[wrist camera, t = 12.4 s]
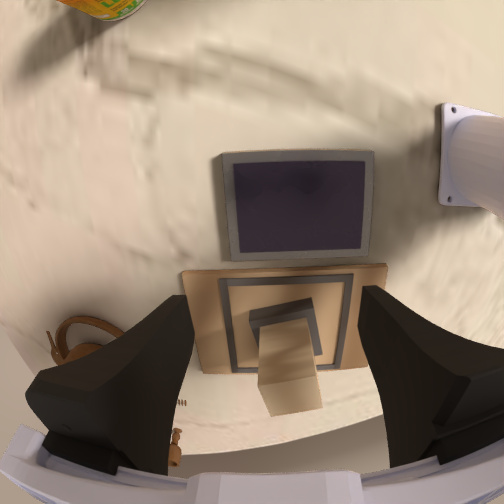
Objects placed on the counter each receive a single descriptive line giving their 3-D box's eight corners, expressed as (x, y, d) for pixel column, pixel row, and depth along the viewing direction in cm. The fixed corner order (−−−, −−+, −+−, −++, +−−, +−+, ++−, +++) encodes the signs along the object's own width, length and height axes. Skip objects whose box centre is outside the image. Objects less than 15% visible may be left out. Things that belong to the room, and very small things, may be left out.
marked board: (385, 263, 22) (389, 267, 21) (365, 362, 27) (367, 368, 26) (183, 270, 23) (180, 275, 22) (204, 369, 28) (202, 374, 27)
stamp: (311, 296, 23) (326, 365, 16) (320, 342, 25) (333, 410, 18) (249, 310, 24) (243, 380, 17) (264, 353, 26) (263, 422, 19)
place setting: (176, 323, 26) (158, 369, 21) (193, 434, 34) (186, 469, 29) (34, 299, 27) (5, 329, 21) (83, 408, 35) (68, 437, 29)
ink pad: (369, 149, 19) (375, 151, 18) (364, 250, 22) (368, 257, 21) (223, 152, 19) (221, 153, 18) (232, 255, 22) (230, 262, 21)
